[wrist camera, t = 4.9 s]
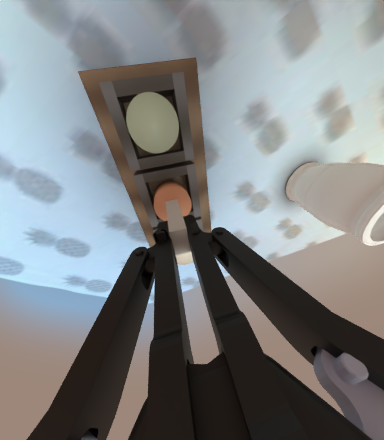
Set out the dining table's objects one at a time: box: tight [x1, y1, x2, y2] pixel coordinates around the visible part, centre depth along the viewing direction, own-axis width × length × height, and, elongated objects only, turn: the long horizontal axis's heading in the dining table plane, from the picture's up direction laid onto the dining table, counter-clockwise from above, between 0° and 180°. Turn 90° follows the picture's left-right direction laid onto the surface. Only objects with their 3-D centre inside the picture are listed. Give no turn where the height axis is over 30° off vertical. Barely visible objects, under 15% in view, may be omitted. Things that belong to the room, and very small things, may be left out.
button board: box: [78, 58, 211, 247], centre depth 23 cm, size 30×13×5 cm, turn 9°
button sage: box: [126, 92, 179, 153], centre depth 15 cm, size 5×5×3 cm
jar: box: [286, 162, 384, 246], centre depth 24 cm, size 11×10×15 cm
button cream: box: [175, 252, 193, 265], centre depth 25 cm, size 5×5×3 cm
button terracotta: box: [154, 181, 192, 221], centre depth 20 cm, size 5×5×3 cm
